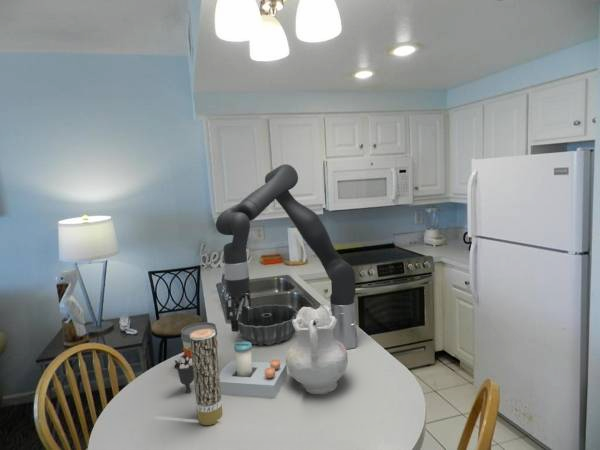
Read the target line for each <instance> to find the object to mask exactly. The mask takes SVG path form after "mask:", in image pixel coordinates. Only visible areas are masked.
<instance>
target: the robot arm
mask: <svg viewBox="0 0 600 450" xmlns="http://www.w3.org/2000/svg"><path fill="white" fill-rule="evenodd" d="M298 181H299V176H298V173H297V170H296V169H295V168H294V167H293V166H292V165H290V164H280V165H279V166H278V167H275V168H274V169H272V170H271V171H269V172H268V173H267V174H266V175H265V177H264V182H265V183H264V184H263V185H262V186H260V187H258V188H257V189H255V190H254V191H252V192H251V193H250V194H248V195H247V196H246V197H245V198H244V199H243V200H241V201H240V202H239V203H237V204H235V205H233V206H232V207H229V208H226V209H225V210H224V211H223V212H221V213H220V214H219V215H218V217H216V221H215V229H216V230H217V231H218V233H219V234H220V235H224V236H233V237H232V241H231V242H228V243H226V244H224V246H223V260H224V261H223V262H224V264H223V265H224V267H223V268H224V269H223V271H224V273H223V274H224V283H225V284H224V285H225V292H226V293H228V294H230V299H226V300H225V309H226V310H225V311H226V312H225V313H226V314H225V315H226V320H227V321H230V326H231V331H232V332H234V333H235V332H236V333H237V332H239V321H238V317H239V313H241V312H242V321H243V322H248V321H249V309H250V307H251V306H252V297H251V296H252V295H251V289H250V288H251V286H250V285H251V283H250V272H249V271H250V270H249V264H248V254H247V253H248V252H247V247H248V241H249V234H250V229H251V222H252V221H254V220H255V219H256V218H257V217H258V216H259V215H261V214H262V213H263V211H264V210H265V209H267V208H268V207H269V206H270V205H271V204H272V203H273V202H274V201H277V202H278V204H279V205H280V207H281V208H282V209H283V210H284V212H285V213H286V214H287V217H289V219H290V220H291V221H292V223H293V224H294V226H295V228H296V230H297V231H298V232H299V234H300V236H301V237H302V238H303V240H304V241H305V242H306V245H308V247H309V248H310V249H311V250H312V252H313V253H314V254H315V255H316V256H317V258H318V260H319V261H320V264H321V265H322V267H323V269H324V271H325V273H326V275H327V276H328V278H329V279H330V281H331V283H330V284H331V294H330V297H329V300H330V303H329V304H330V309H331V311H332V315H333V316H334V317H335V318H336V319H337V322H336V325H335V327H334V330H333V337H334V338H335V339H336V340H337V341H339V342H341V343H342V344H343V345H344V347H345V348H346V350H350V349H356V348H357V343H358V334H357V319H356V311H355V309H356V308H355V296H356V272H355V270H354V268H353V266H352V265H351V264H350V263H348V262H346V261H345V260H344V259H343V258H342V256H341V255H340V254H339V252H338V251H337V250H336V248H335V246H334V245H333V243H332V241H331V238H330V236H329V232H328V231H327V229H326V226H325V225H324V223H323V222H322V220H321V219H320V216H318V214H317V213H316V212H314V211H313V210H312V209H311V208H309V207H307V206H306V205H303V204H302V203H300V202H299V201H298V200H297V199H295V198H294V196H293V195H292V193H291V192H290V191H289V190H292V189H294V187H295V186H296V185H297V184H298V183H299V182H298Z"/></svg>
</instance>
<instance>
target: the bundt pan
mask: <svg viewBox="0 0 600 450" xmlns="http://www.w3.org/2000/svg"><path fill="white" fill-rule="evenodd" d="M298 312H299V311H298V310H297V309H295V307H291V306H290V305H284V304H281V305H280V304H276V303H275V304H263V305H259V306H252V307H251V308H250V307H249V321H248V322H243V321H242V312H240V313H239V317H238V321H239V331H238V332H239V334H240V337H241V338H242V339H243V340H244V341H247V342H250V343H251V345H257V344H258V345H259V346H263V345H269V346H270V345H273V344H274V343H277V344H280V343H281V342H282V341H286V340H287V339H289V338H290V337H292V336H293V335H294V334H295V332H296V330H295V328H294V326H293V324H292V320H293V319H296V316H297V314H298ZM243 340H242V341H243Z"/></svg>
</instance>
